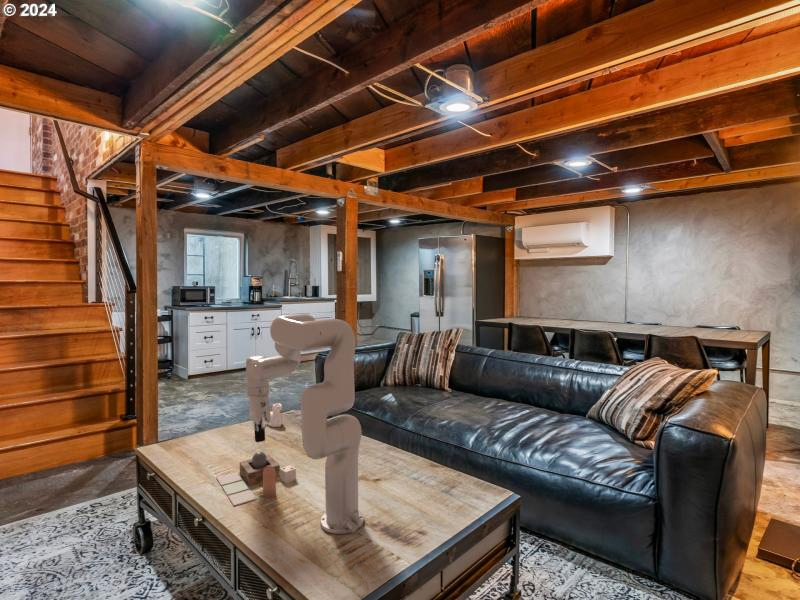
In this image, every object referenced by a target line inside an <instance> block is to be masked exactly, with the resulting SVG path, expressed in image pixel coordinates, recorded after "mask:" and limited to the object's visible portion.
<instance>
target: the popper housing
mask: <svg viewBox="0 0 800 600" xmlns="http://www.w3.org/2000/svg"><path fill="white" fill-rule="evenodd" d="M266 457H267V466H264V467H260V468H256V469H253V468H252V458H251V459H248V460H242V461H240V462H239V475H240V476H242V477H243V479H244V480H245V482H246V483H247V484H248V485H252V484H253V485H254V484H257V483H260V482H263V471H264V469H265V468H266V467H268V466H271V467H273V468H274V469H275V472H276V478H277V477H280V468H281V467H280V466H281V465H280V464H279V463H278V462H277V461H276V460H275V459H274V458H273V457H272V456H271V455H270V454H267V455H266Z"/></svg>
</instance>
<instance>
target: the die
mask: <svg viewBox="0 0 800 600" xmlns="http://www.w3.org/2000/svg"><path fill="white" fill-rule="evenodd" d="M279 479H280V481H282V482H283V481H284V483H285V484H288V483H291V482H293V481H295V480H297V469H296V467H294V466H292V465H290V464H289V465H286V466H284V467H280V476H279ZM287 482H288V483H287Z"/></svg>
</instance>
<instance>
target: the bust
mask: <svg viewBox="0 0 800 600" xmlns="http://www.w3.org/2000/svg"><path fill="white" fill-rule="evenodd" d="M282 409H283V404H282V403H280V402H278V403H277V402H276V403H275V404H274V403H272V406H271V410H272V411H270V415H271V422H269V423H268V422H267V421H266V420H265V422H266V425H267V426H269V427H272V428H276V427H277V428H279V427H282V425H283V423H284V421H285V417H284V414H283V413H282V412H281V411H282Z"/></svg>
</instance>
